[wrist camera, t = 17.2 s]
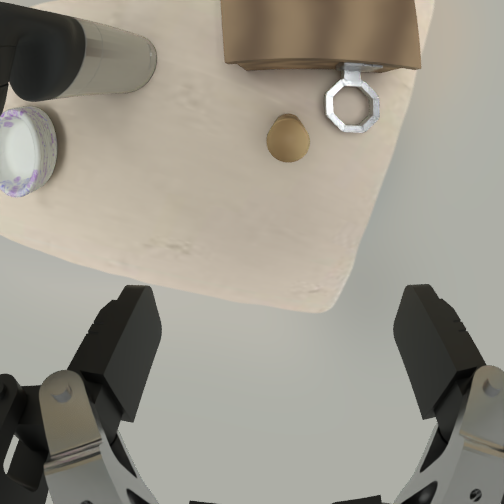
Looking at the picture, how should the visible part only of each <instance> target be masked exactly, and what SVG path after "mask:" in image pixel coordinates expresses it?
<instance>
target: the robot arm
mask: <svg viewBox="0 0 504 504" xmlns="http://www.w3.org/2000/svg"><path fill="white" fill-rule="evenodd" d="M156 58H157V56H156V51H155V48H154V46H153V45H152V43H151V42H150V41H149V40H148V39H146V38H144V37H142V36H139V35H136V34H133V33H130V32H127V31H124V30H121V29H117V28H114V27H111V26H107V25H103V24H100V23H96V22H92V21H88V20H84V19H79V18H75V17H70V16H66V15H61V14H57V13H52V12H47V11H42V10H37V9H33V8H28V7H24V6H19V5H15V4H10V3H5V2H0V117H1V114H2V112H3V108H4V105H5V100H6V96H7V90H8V85H9V84H8V82H10V85H11V87H12V89H13V90H14V92H15V93H16V95H18V96H19V97H20V98H21V99H23V100H26V101H31V102H36V101H44V100H51V99H58V98H66V97H74V96H84V95H96V94H113V93H129V92H133V91H135V90H138V89H139V88H141V87H142V86H144V85H145V84H146V83H147V82H148V81H149V79H150V78H151V76H152V74H153V72H154V70H155V66H156ZM161 327H162V326H161V321H160V317H159V313H158V310H157V306H156V303H155V299H154V295H153V291H152V289H151V287H150V286H143V285H127V286H125V287H124V289H123V291H122V292H121V294H120V296H119V298H118V299H117V300H112V301H110V302H109V303H108V304H107V305H106V306H105V307H103V308H102V309H101V310H100V312H99V314H98V315H97V317H96V319H95V320H94V324H92V325H91V327H90V329H89V330H88V334H86V336H85V337H84V339H83V341H82V343H81V345H80V347H79V348H78V350H77V352H76V354H75V356H74V358H73V360H72V361H71V363H70V365H69V367H68V368H67V370H61V371H57V372H55V373H53V374H51V375H50V376H49V377H47V378H46V379H45V380H44V382H43V383H42V385H38V386H37V385H36V386H20V385H19V384H18V382H17V381H16V379H15V378H14V377H13V376H12V375H9V374H1V375H0V504H45V502H46V498H47V494H48V490H49V492H50V495H51V498H52V501H53V504H159V503H158V502H157V500H156V498H155V497H154V495H153V494H152V493H151V491H150V490H149V489H148V487H147V486H146V485H145V483H144V482H143V480H142V479H141V476H140V475H139V473H138V471H137V469H136V467H135V465H134V463H133V461H132V459H131V456H130V454H129V452H128V450H127V448H126V446H125V444H124V441H123V439H122V437H121V434H120V432H119V431H118V427H119V423H120V421H121V420H122V421H127V422H134V419H135V416H136V412H137V409H138V406H139V403H140V400H141V396H142V393H143V390H144V387H145V384H146V381H147V378H148V375H149V372H150V369H151V366H152V363H153V360H154V357H155V354H156V351H157V349H158V346H159V343H160V340H161V333H162V328H161ZM393 332H394V338H395V341H396V344H397V346H398V349H399V352H400V354H401V357H402V359H403V363H404V365H405V368H406V371H407V374H408V376H409V379H410V382H411V385H412V388H413V391H414V394H415V397H416V400H417V403H418V406H419V409H420V412H421V415H422V419H423V420H424V419H429V418H433V417H436V419H437V422H438V423H437V424H436V425H435V427H434V429H433V431H432V434H431V436H430V439H429V441H428V444H427V446H426V448H425V451H424V453H423V455H422V457H421V460H420V462H419V464H418V466H417V468H416V470H415V472H414V474H413V476H412V477H411V479H410V481H409V482H408V483H407V484H406V486H405V487H404V488H403V489H402V491H401V492H400V494H399V495H398V496H397V498H396V500H395V502H394V503H393V504H500V503H501V504H504V372H503V371H502V370H501V369H499V368H498V367H495V366H491V365H486V363H485V361H484V360H483V358H482V356H481V354H480V352H479V350H478V349H477V347H476V345H475V344H474V342H473V340H472V338H471V336H470V335H469V333H468V332H467V331H466V328H465V326H464V325H463V323H462V322H460V318H459V317H458V315H457V313H456V312H455V310H454V309H453V308H452V307H451V306H450V305H449V304H448V303H447V302H445V301H444V300H443V299H439V298H438V296H437V294H436V293H435V291H434V290H433V288H432V287H431V286H430V285H429V284H421V285H408V286H406V288H405V290H404V293H403V296H402V299H401V302H400V306H399V309H398V312H397V315H396V318H395V321H394V328H393ZM13 435H15V436H16V437H17V438H18V439H19V441H18V444H17V447H16V450H15V452H14V455H13V458H12V461H11V464H10V468H9V470H8V473H7V474H5V472H4V468H3V463H4V459H5V457H6V454H7V451H8V448H9V446H10V443H11V440H12V438H13ZM189 504H214V503H204V502H197V501H190V502H189ZM332 504H389V503H382V502H381V496H380V495H377V496H372V497H367V498H361V499H355V500H348V501H341V502H335V503H332Z"/></svg>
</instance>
